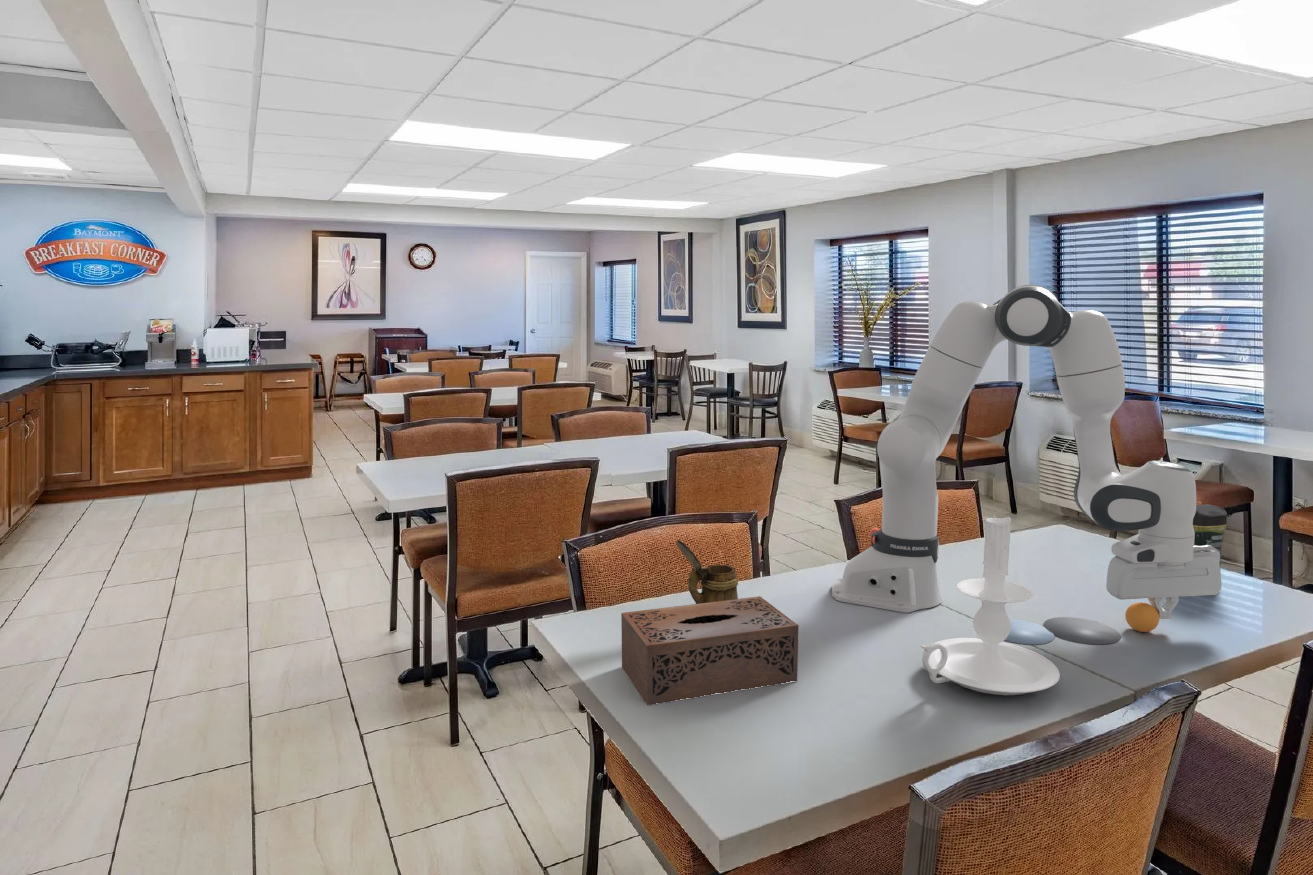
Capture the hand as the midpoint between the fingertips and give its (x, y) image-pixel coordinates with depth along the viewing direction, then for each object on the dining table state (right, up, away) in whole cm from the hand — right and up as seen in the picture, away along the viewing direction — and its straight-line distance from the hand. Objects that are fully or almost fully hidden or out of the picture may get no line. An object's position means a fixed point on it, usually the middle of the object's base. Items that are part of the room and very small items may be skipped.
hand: (1162, 618), depth 152 cm
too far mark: (-27, -3, 0) cm, 27 cm away
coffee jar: (+22, +1, +24) cm, 33 cm away
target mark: (-15, -2, 0) cm, 15 cm away
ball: (-4, 0, 0) cm, 4 cm away
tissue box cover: (-87, -6, -18) cm, 89 cm away
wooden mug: (-86, -2, +3) cm, 86 cm away
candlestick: (-43, -6, -21) cm, 49 cm away
